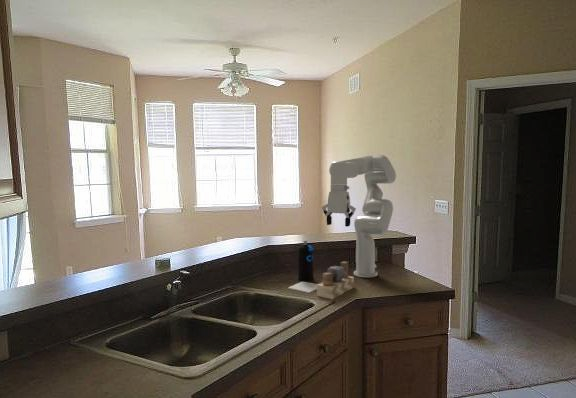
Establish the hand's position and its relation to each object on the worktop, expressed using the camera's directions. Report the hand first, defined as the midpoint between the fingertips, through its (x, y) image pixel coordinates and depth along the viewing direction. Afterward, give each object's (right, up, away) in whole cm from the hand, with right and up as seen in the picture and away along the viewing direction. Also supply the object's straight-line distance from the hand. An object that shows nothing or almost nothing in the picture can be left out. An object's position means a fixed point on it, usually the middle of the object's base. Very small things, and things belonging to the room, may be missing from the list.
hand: (338, 225), depth 176 cm
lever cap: (-1, -24, -1) cm, 25 cm away
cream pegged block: (-1, -30, -1) cm, 30 cm away
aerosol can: (-14, -29, +20) cm, 38 cm away
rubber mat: (-15, -30, +6) cm, 34 cm away
